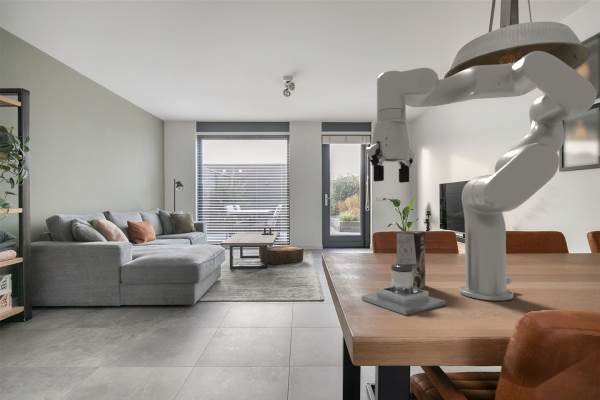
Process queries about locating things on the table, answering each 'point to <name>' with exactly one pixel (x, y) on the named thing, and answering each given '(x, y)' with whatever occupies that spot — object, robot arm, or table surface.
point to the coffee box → (412, 254)
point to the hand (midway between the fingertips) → (391, 181)
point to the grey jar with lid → (402, 279)
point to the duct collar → (404, 300)
